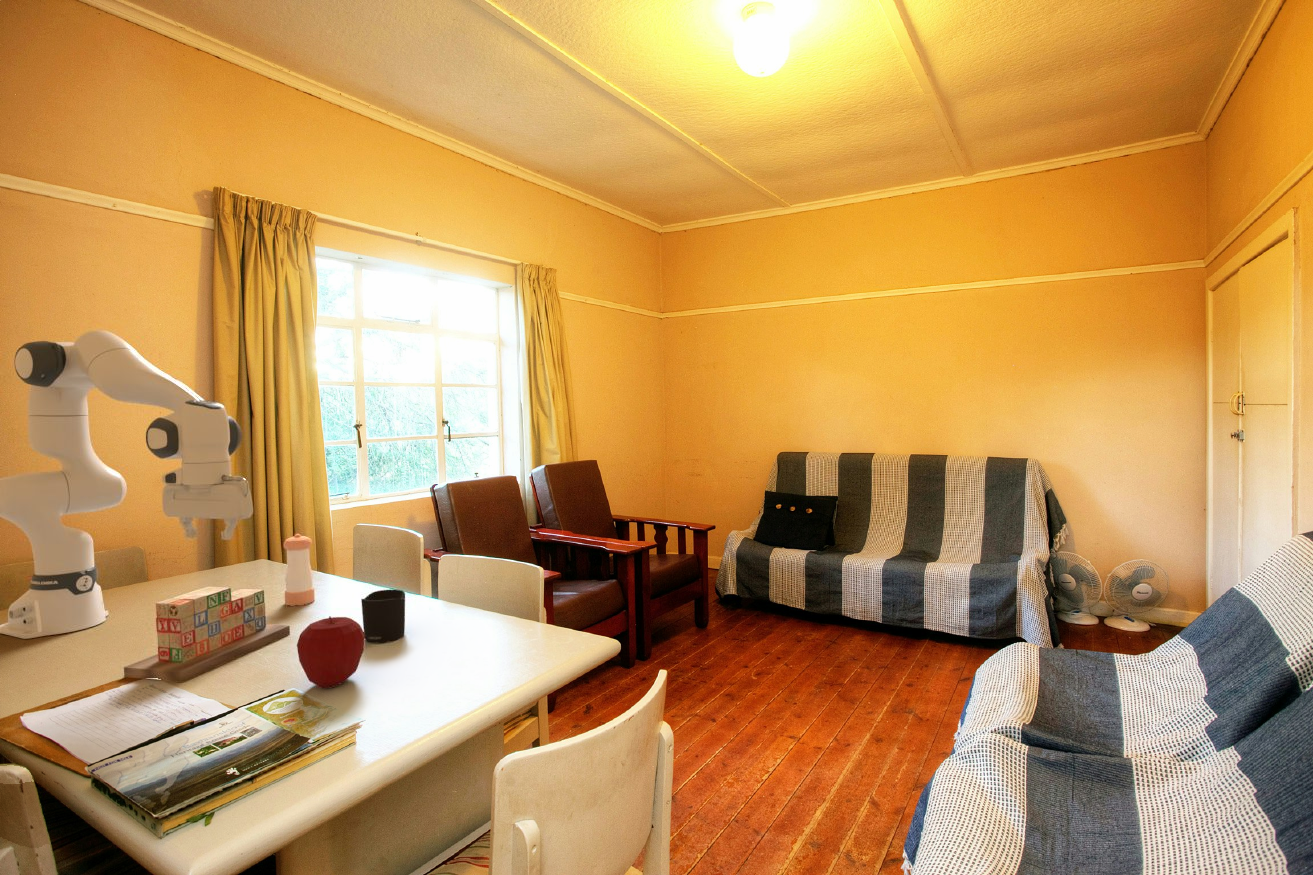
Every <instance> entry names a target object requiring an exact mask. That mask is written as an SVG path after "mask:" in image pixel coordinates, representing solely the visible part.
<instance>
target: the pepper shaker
mask: <svg viewBox="0 0 1313 875" xmlns="http://www.w3.org/2000/svg"><path fill="white" fill-rule="evenodd" d="M312 545H313V540H312V539H311V538H310V537H308V536H306V535H301V534H300V533H296V534H294V536H290V537H289V538H286V539H285V540H284V541H283V545H282V546H283V549H284V550H285V551H286V561H287V562H286V564H287V565H286V566H287V567H286V573H285V591H284V605H285V604H286V605H285V606H287V605H290V606H289V607H296V606H295V605H299V606H305V605H308V604H307V603H309V604H311V602H312V603H313V601H314V602H315V587H313V571H312V567H311V561H310V548H311V547H312ZM304 604H305V605H304Z"/></svg>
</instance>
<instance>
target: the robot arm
mask: <svg viewBox="0 0 1313 875" xmlns="http://www.w3.org/2000/svg"><path fill="white" fill-rule="evenodd" d="M13 362H14V363H13V364H14V370H15V372H16V375H17V376H18V378H19V379H20V380H21V381H22V382H23V383H25V384H27V385H30V386H29V390H28V391H29V392H28V398H27V429H28V430H27V433H28V434H27V435H28V444H29V447H30V448H31V449H32V450H33V451H34V452H36V453H38V454H39V455H43V456H45V457H49V458H52V459H55V460H58V461H59V462H60V465H61V468H62V469H61V470H56V471H53V470H52V471H42V472H41V471H40V472H37V471H36V472H25V473H20V474H19V473H18V474H14V475H13V474H12V475H10V476H6V477H0V518H2V519H4V520H6V521H8V522H11V523H13V524H14V526H16V527H18V528H19V529H20V530H21V531H22V532H23V533H24V535H25V536H26V537H27V538H28V540H29V543H30V546H31V551H32V556H33V564H34V565H33V566H34V567H33V568H34V573H33V575H32V574H31V575H28V576H26V578H28V579H27V580H26V581H27V582H30V583H29V587H28V590H27V591H26V592H25V593H24V594H22V595H21V596H20V597H19V598H18V599H16V600H15V601H14V602H12V603H11V604H10V606H9V607H8V612H7V622H5V623H3V624H0V634H4V635H8V636H11V637H15V638H19V639H22V640H23V639H24V640H26V639H28V640H29V639H33V638H39V637H44V636H51V635H60V634H66V633H71V632H77V631H81V630H84V629H89V628H91V627H94V626H97V625H99V624H102V623H104V622H105V621H106V619H107V618H106V617H108V616H109V610H105V605H104V600H103V599H104V598H103V593H102V592H103V591H102V588H101V586H100V585H99V584H98V583H97V581H98V579H99V578H98V574H99V573H98V567H97V566H96V565H95V549H94V547H95V546H94V539H93V538H92V536H91V535H90V533H88V532H86V531H85V530H82V529H78V528H75V527H71V526H67V525H64V523H63V521H62V516H66V515H73V514H74V515H75V514H83V513H92V512H99V511H104V510H107V509H110V508H113V507H118V506H119V505H120V504H121V503H122V502H123V501H124V499H125V498H126V495H127V491H128V488H127V487H128V486H127V485H128V484H127V481H126V480H125V478H124V477H123V476H122V474H121V473H119V472H118V471H117V470H115V469H113V468H111V467H110V466H108V465H106V464H105V463H104V462H103V461H102V460H101V459H100V457H98V455H97V454H96V452H95V451H94V450H95V449H94V448H93V444H92V441H91V435H90V422H89V419H90V418H89V407H88V406H89V405H88V394H89V393H90V391H91V390H93V389H98V390H99V391H100V392H101V393H102V394H104V395H105V396H107V397H109V398H111V399H113V400H116V401H118V402H122V403H130V404H138V405H147V406H153V407H159V408H163V409H166V410H170V411H172V412H173V413H170V414H168V415H164V416H162V417H161V416H160V417H157V418H155V419H153V421H151V423H150V424H149V425H148V427H147V428H146V431H145V442H146V446H147V448H148V450H149V451H150V452H151V454H153V455H154V456H155V457H157V458H159V459H165V460H181V467H180V468H179V467H178V468H176V469H173V471H169V472H166V473H163V475H161V482H162V484H164V486H163V488H162V494H161V495H162V496H161V497H162V498H161V500H162V501H161V502H162V512H163V513H164V515H165V516H166V517H167V518H179V523H180V526H181V527H182V528H183V529H182V530H184V537H185V538H186V539H194V538H197V537H198V528H195V526H194V525H193V522H194V519H215V520H224V521H223V522H224V524H225V529H224V530H223V531H220V535H221V537H220V538H221V540H225V541H226V540H227V541H228V540H229V541H230V540H232V539H234V536H235V535H234V533H235V532H234V531H235V529H236V527H237V526H238V524H239V520H243V519H249V518H251V516H252V515H253V514H254V505H253V498H252V494H251V492H252V491H251V489H250V485H249V482H248V480H247V479H246V478H244V476H241V475H232V461H231V460H232V459H231V456H232V455H233V454H234V453H235V452H236V451H237V450H238V448H239V447H240V445H242V444H241V443H242V442H243V432H242V428H241V426H240V425H239V424H238V422H237V420H235V418H233V417H232V416H231V415H229V414H228V413H227V412H228V411H227V410H226V407H225V406H224V405H223V404H221V403H220V402H217V401H213V400H205V399H204V398H202V397H201V396H200V395H198V394H197V393H196V392H195V391H194V390H192V388H190V387H188V385H186V384H184V383H183V381H182V382H181V381H180V380H178V379H176V378H175V377H173V376H171V375H169V374H168V373H165V372H164V371H162V370H160V369H159V368H158V367H156V366H154V365H153V364H151V363H150V362H149V361H148V360H146V359H145V358H144V357H143V356H142V355H141V354H140V353H139V352H138V351H137V350H136V349H135V348H134V347H133V346H132V345H131V344H129V343H128V342H127V341H126V340H124V339H123V338H121V337H120V336H118V335H116V334H115V333H112V332H111V331H108V330H103V329H102V330H101V329H96V330H90V331H87V332H84V333H83V334H81V335H79V336H78V337H77V339H76V340H75V341H74V342H73V341H48V340H37V341H31V342H26V343H24V344H22V345H21V346H20V347H19V348H18V349H17V351H16V352H15V355H14V361H13Z"/></svg>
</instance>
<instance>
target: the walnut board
mask: <svg viewBox="0 0 1313 875" xmlns="http://www.w3.org/2000/svg"><path fill="white" fill-rule="evenodd" d="M290 627H291V626H290V625H284V624H283V625H282V624H272V623H269V624H268V623H266V628H264V629H262V630H259V631H257V632H254V633H252V634H250V635H247V636H245V637H243V638H240V639H238V640H235V641H233V642H231V643H228V644H226V645H224V646H221V647H219V648H217V649H215V650H212V651H210V652H208V653H205V654H203V655H200V656H198V657H195V658H193V659H190V660H188V661H186V662H183V663H179V662H167V661H159V660H158V653H156V654H155V655H152V656H150V657H146V658H144V659H142V660H139V661H136V662H134V663H131V664H128V665H126V666H124V667H123V677H124V678H130V679H140V678H141V679H143V680H147V679H146V678H158V679H161V680H160V681H162V680H163V681H165V682H173V683H174V682H175V683H183V682H186V681H188V680H190V679H192V678H194V677H197V676H199V675H202V674H203V673H205V672H208V671H211V670H212V669H214V668H217V667H219V666H222V665H224V664H226V663H228V662H231V661H233V660H234V659H237V658H239V657H242V656H244V655H246V654H248V653H250V652H252V651H254V650H257V649H259V648H262V647H263V646H266V645H268V644H270V643H272V642H275V641H277V640H280V639H282V638H284V637H286V636H288V635H290V634H291V628H290Z"/></svg>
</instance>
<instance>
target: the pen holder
mask: <svg viewBox="0 0 1313 875" xmlns="http://www.w3.org/2000/svg"><path fill="white" fill-rule="evenodd" d="M361 613H362V624H363V626H362V627H363V632H364V634H365V639H364V641H366V642H368V643H370V644H386V643H390V642H395V641H397V640H400V639H402V637H403V636H404V635H405V633H406V632H405V629H406V623H405V622H406V593H405V591H404V590H402V589H382V590H377V591H376V590H375V591H373V592H371V593H369V594H368V595H367V596H366V597H365V598H361Z"/></svg>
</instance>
